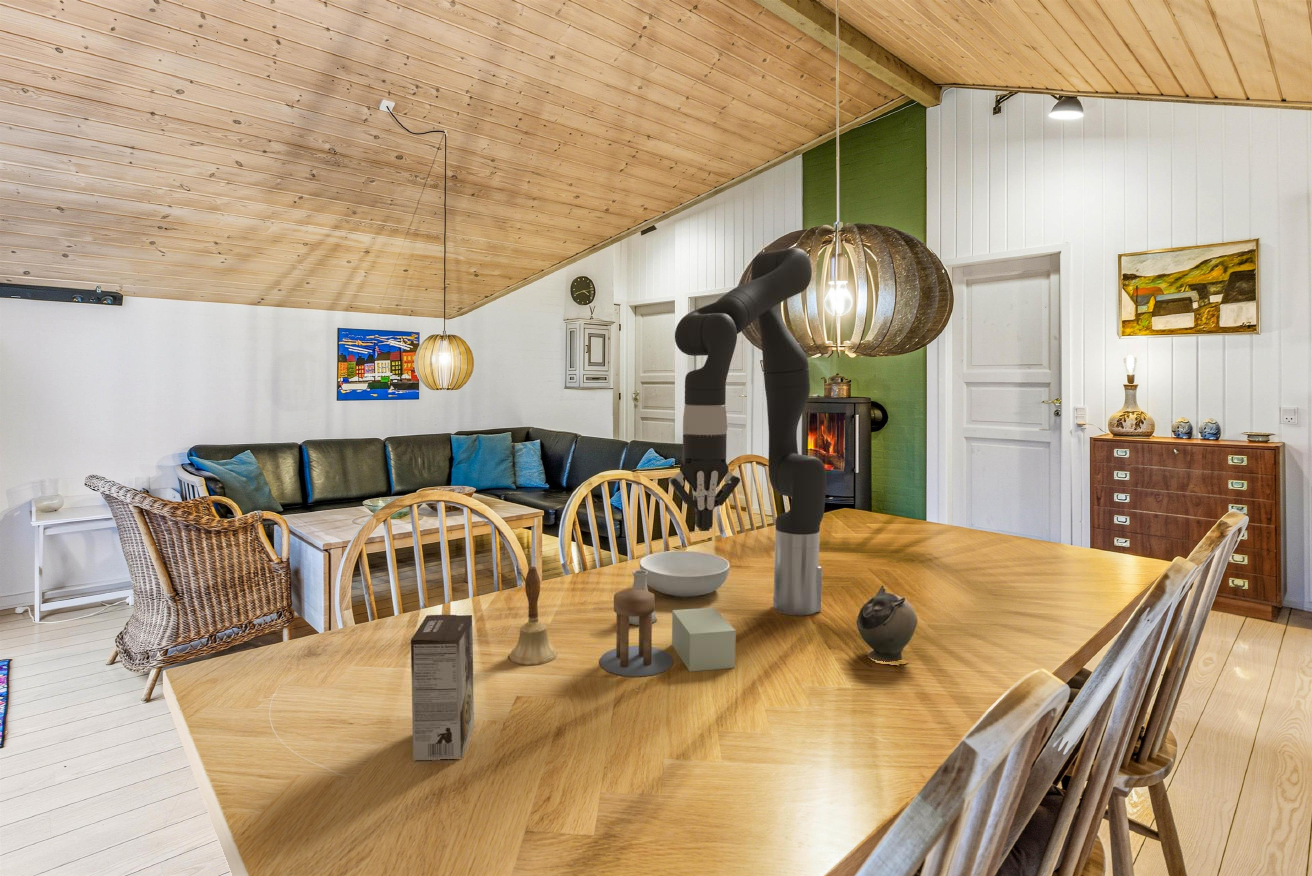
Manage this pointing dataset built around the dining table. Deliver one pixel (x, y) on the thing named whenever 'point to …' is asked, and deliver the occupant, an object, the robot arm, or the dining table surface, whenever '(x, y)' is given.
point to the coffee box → (442, 687)
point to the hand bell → (533, 630)
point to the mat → (636, 663)
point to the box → (703, 639)
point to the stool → (643, 607)
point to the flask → (640, 584)
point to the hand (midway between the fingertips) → (703, 530)
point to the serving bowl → (685, 572)
